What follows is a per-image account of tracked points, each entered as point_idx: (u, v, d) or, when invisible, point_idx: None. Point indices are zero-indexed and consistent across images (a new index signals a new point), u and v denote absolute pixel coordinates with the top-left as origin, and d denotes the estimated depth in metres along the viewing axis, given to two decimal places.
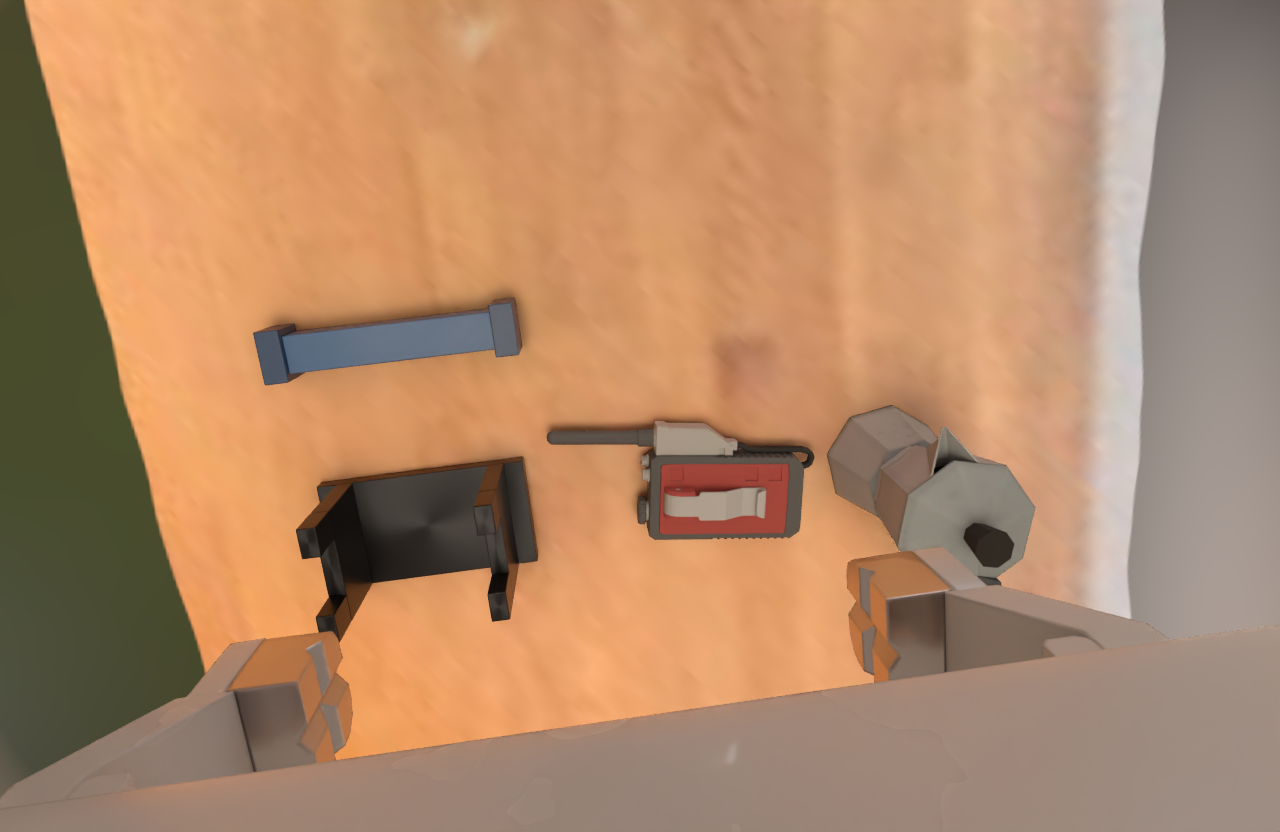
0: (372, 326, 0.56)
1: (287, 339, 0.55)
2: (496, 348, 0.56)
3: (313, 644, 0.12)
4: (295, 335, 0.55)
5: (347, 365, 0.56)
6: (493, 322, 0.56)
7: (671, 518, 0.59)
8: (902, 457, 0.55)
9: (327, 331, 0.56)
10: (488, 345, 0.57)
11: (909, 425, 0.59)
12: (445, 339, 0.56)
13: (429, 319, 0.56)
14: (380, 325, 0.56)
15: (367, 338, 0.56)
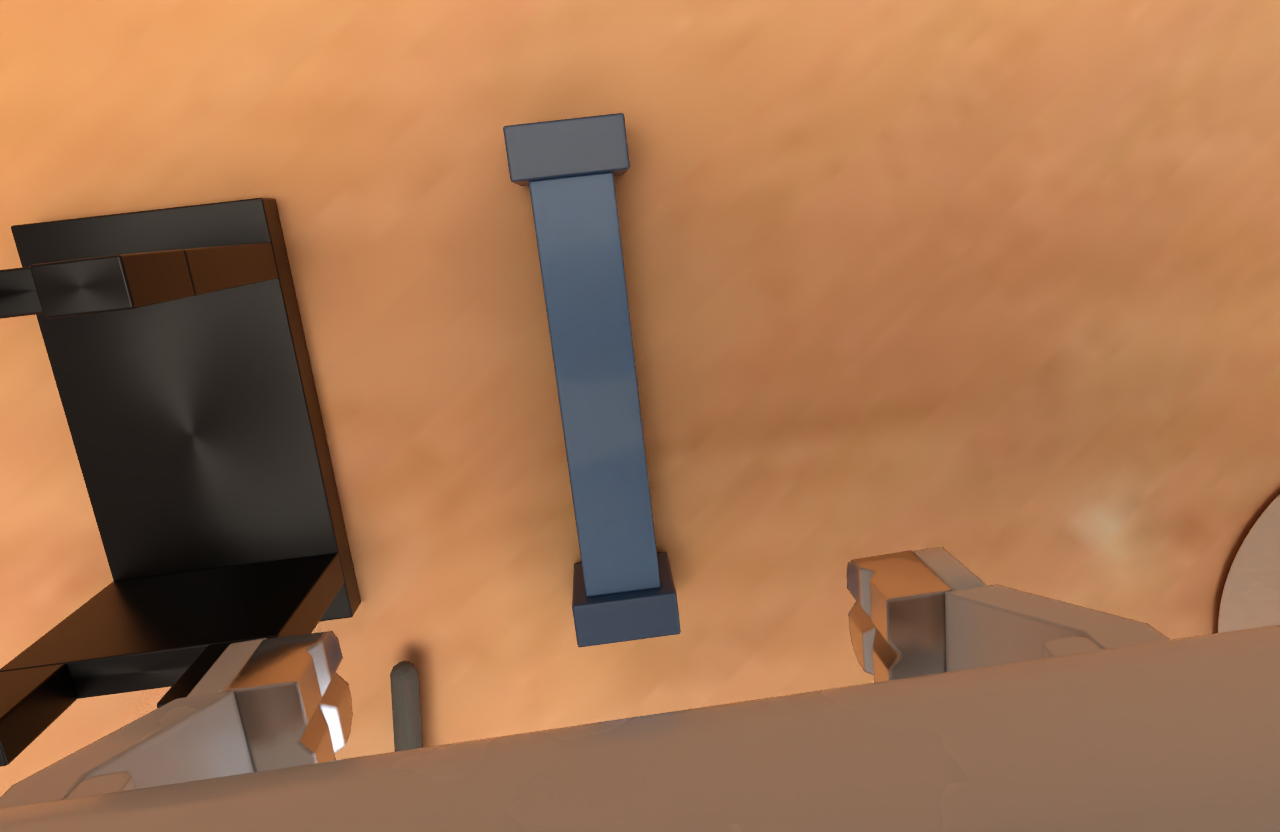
0: (633, 365, 0.27)
1: (606, 184, 0.25)
2: (590, 607, 0.28)
3: (312, 644, 0.12)
4: (614, 202, 0.25)
5: (549, 308, 0.26)
6: (642, 602, 0.28)
7: None
8: None
9: (622, 270, 0.26)
10: (595, 585, 0.28)
11: None
12: (605, 506, 0.28)
13: (646, 477, 0.28)
14: (635, 381, 0.27)
15: (607, 353, 0.27)
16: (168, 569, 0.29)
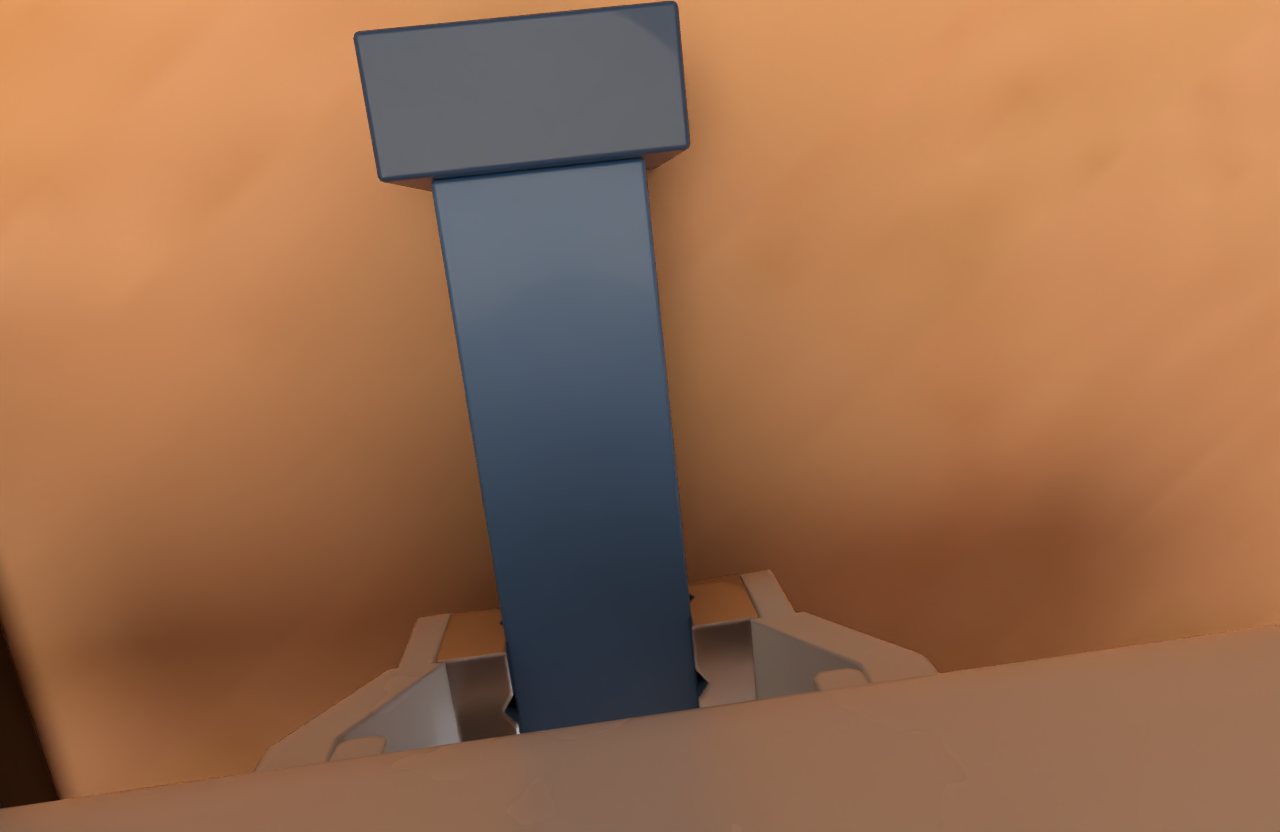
0: (686, 611, 0.11)
1: (627, 189, 0.10)
2: None
3: None
4: (648, 234, 0.10)
5: (488, 487, 0.11)
6: None
7: None
8: None
9: (664, 397, 0.11)
10: None
11: None
12: None
13: None
14: (690, 645, 0.12)
15: (625, 588, 0.11)
16: None
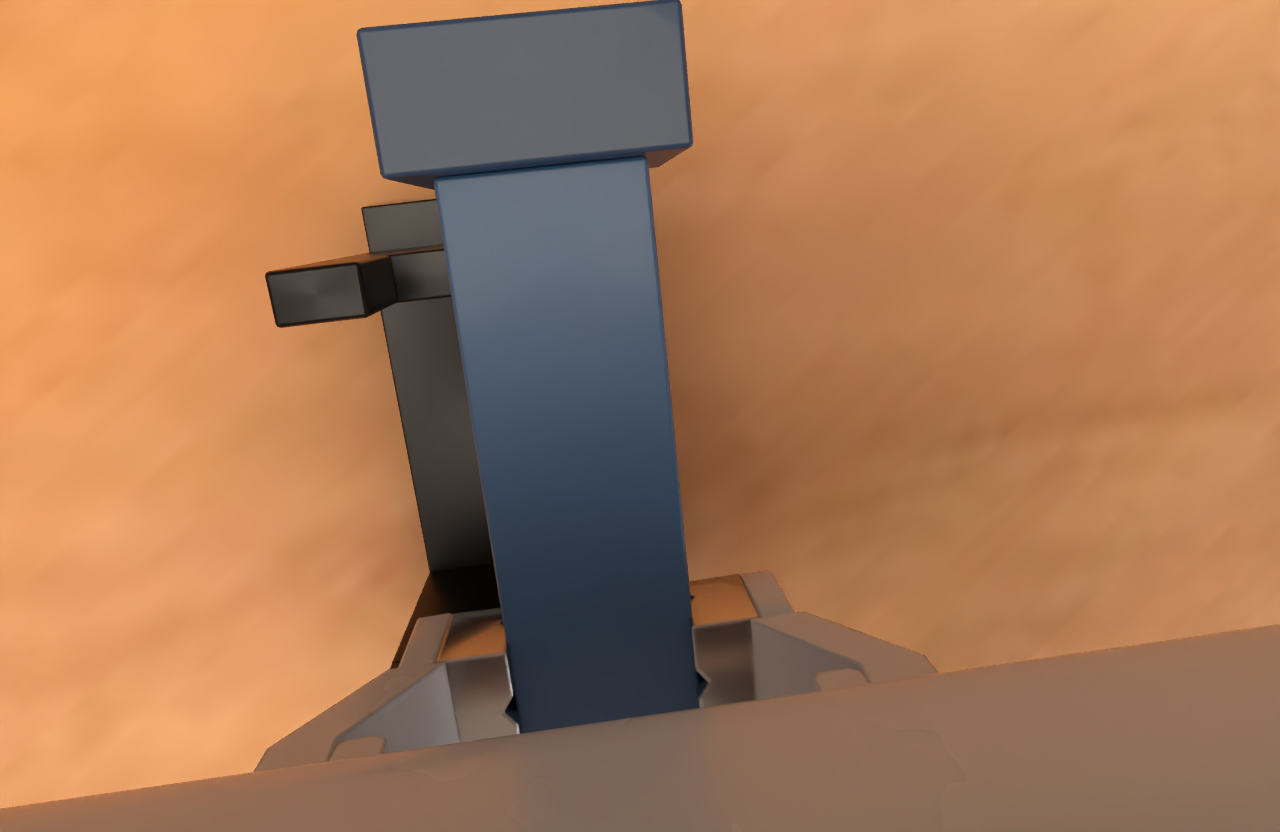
0: (687, 611, 0.11)
1: (629, 187, 0.10)
2: None
3: None
4: (650, 232, 0.10)
5: (489, 485, 0.11)
6: None
7: None
8: None
9: (666, 395, 0.11)
10: None
11: None
12: None
13: None
14: (691, 645, 0.12)
15: (626, 587, 0.11)
16: (485, 559, 0.29)
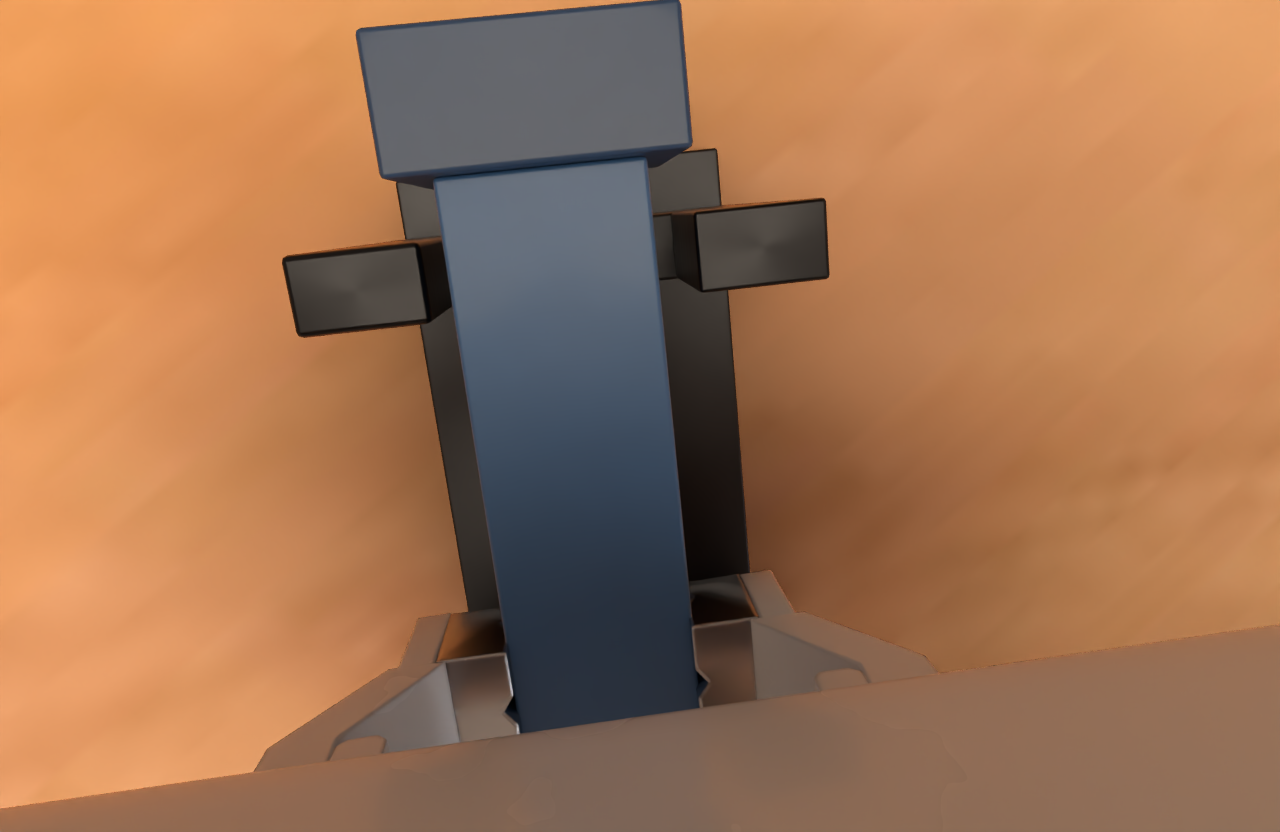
0: (687, 611, 0.11)
1: (629, 187, 0.10)
2: None
3: None
4: (649, 232, 0.10)
5: (489, 486, 0.11)
6: None
7: None
8: None
9: (665, 396, 0.11)
10: None
11: None
12: None
13: None
14: (690, 645, 0.12)
15: (626, 587, 0.11)
16: None
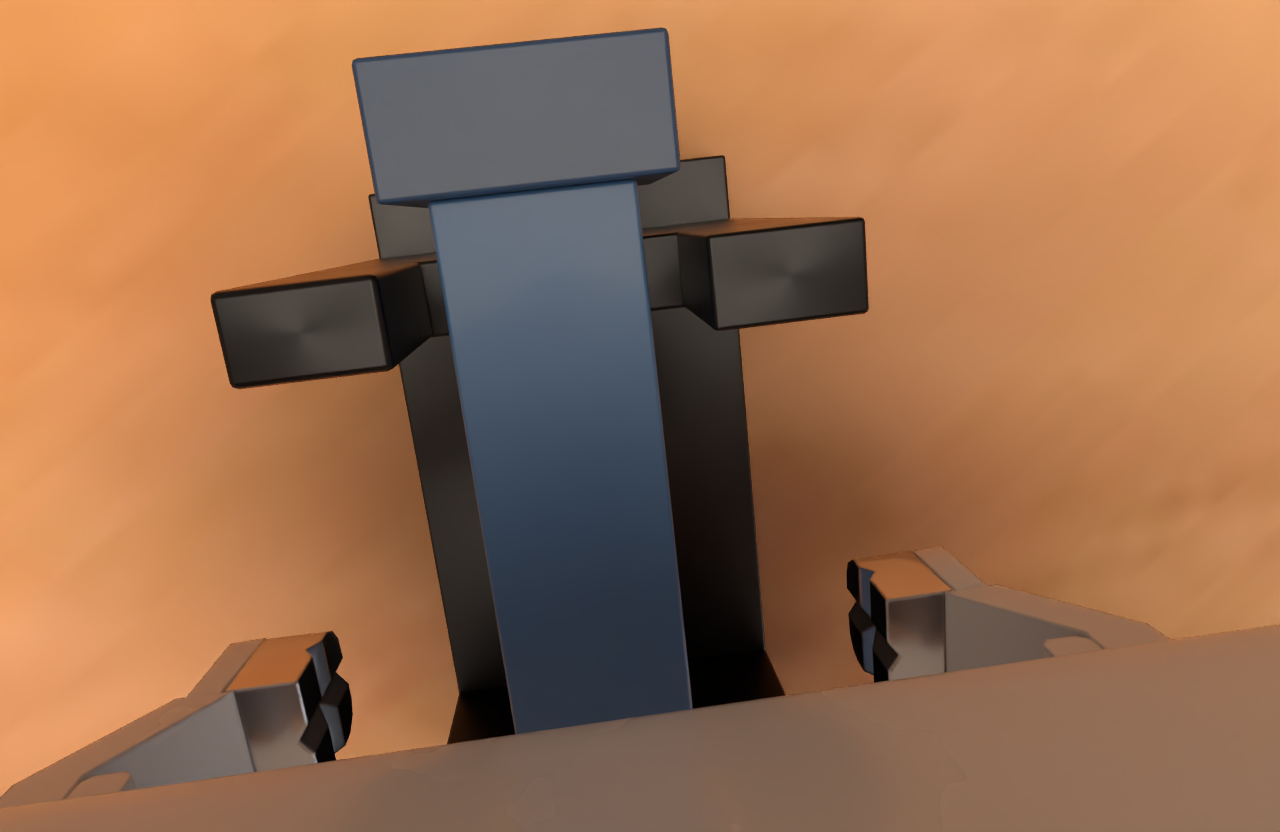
0: (679, 621, 0.12)
1: (619, 209, 0.10)
2: None
3: (312, 644, 0.12)
4: (640, 253, 0.10)
5: (484, 500, 0.11)
6: None
7: None
8: None
9: (656, 412, 0.11)
10: None
11: None
12: None
13: None
14: (683, 654, 0.12)
15: (619, 598, 0.11)
16: None
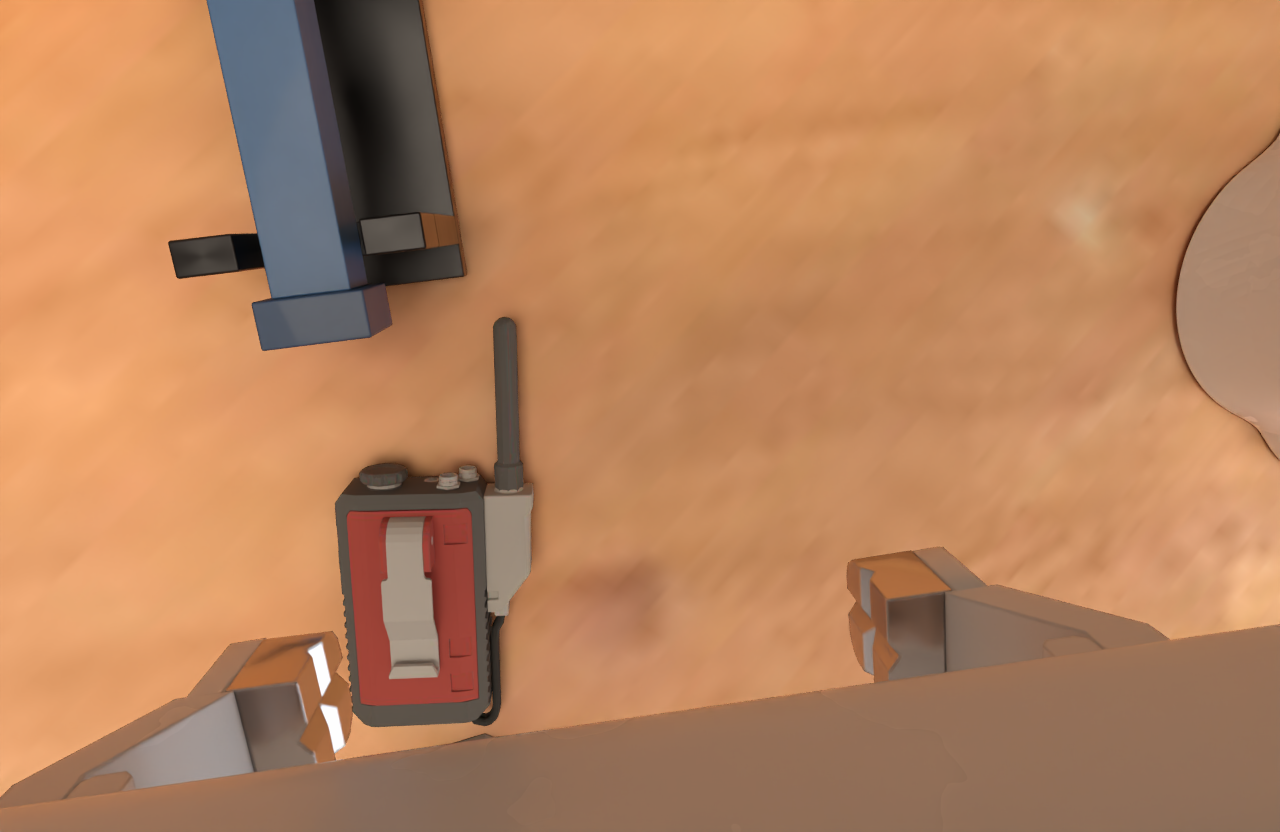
0: (298, 34, 0.26)
1: None
2: (270, 304, 0.27)
3: (312, 644, 0.12)
4: None
5: None
6: (326, 299, 0.27)
7: (381, 536, 0.35)
8: None
9: None
10: (279, 285, 0.27)
11: None
12: (282, 195, 0.27)
13: (324, 162, 0.26)
14: (302, 52, 0.26)
15: (269, 20, 0.25)
16: None
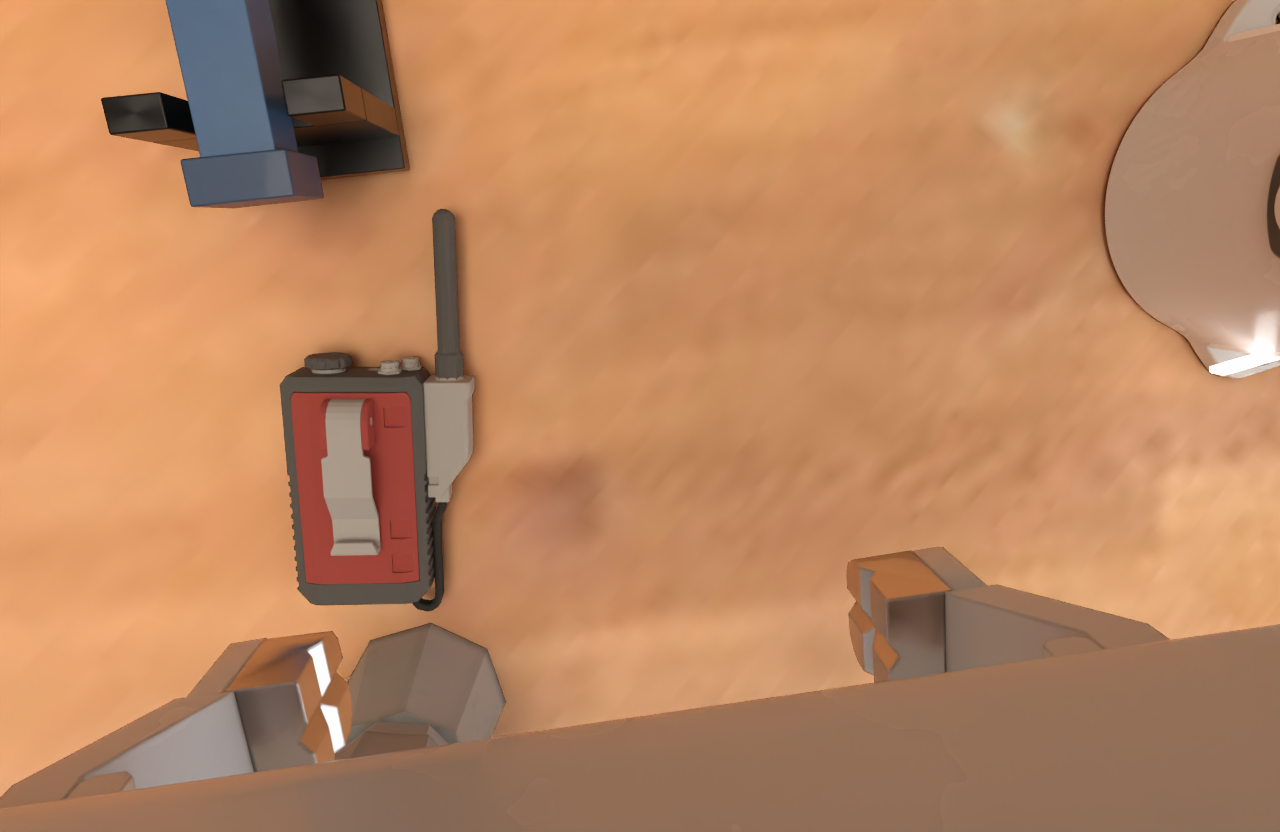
0: None
1: None
2: (198, 161, 0.28)
3: (312, 644, 0.12)
4: None
5: None
6: (251, 157, 0.28)
7: (321, 413, 0.37)
8: None
9: None
10: (207, 144, 0.29)
11: None
12: (209, 57, 0.28)
13: (249, 26, 0.28)
14: None
15: None
16: None
